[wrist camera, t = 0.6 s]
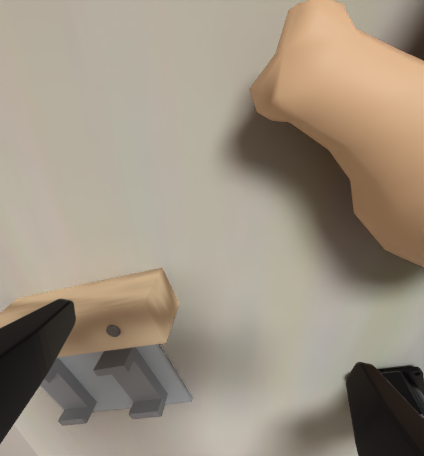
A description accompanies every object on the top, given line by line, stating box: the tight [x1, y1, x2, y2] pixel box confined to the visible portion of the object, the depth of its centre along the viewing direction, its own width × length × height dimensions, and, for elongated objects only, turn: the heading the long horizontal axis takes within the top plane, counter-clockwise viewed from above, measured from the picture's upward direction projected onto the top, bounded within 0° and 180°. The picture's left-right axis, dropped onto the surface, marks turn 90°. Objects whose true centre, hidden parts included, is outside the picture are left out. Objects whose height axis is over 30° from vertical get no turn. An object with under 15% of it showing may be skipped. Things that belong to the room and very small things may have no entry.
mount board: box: [40, 344, 193, 425], centre depth 32 cm, size 13×20×3 cm, turn 111°
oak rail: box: [0, 268, 179, 357], centre depth 26 cm, size 4×18×5 cm, turn 108°
